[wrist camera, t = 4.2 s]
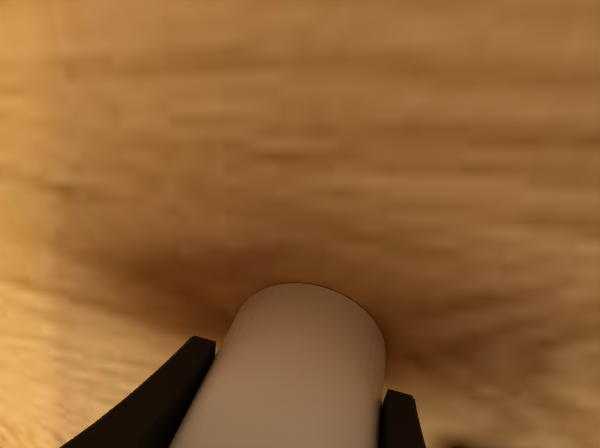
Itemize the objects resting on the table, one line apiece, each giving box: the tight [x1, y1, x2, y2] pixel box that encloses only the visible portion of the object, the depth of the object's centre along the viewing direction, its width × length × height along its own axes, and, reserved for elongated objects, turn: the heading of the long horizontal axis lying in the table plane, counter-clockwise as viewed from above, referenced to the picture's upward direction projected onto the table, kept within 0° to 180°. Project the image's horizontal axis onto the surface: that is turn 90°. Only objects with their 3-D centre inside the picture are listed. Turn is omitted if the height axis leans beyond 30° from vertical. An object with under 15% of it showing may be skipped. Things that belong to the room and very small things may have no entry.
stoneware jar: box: [168, 283, 386, 448], centre depth 11 cm, size 5×5×6 cm
